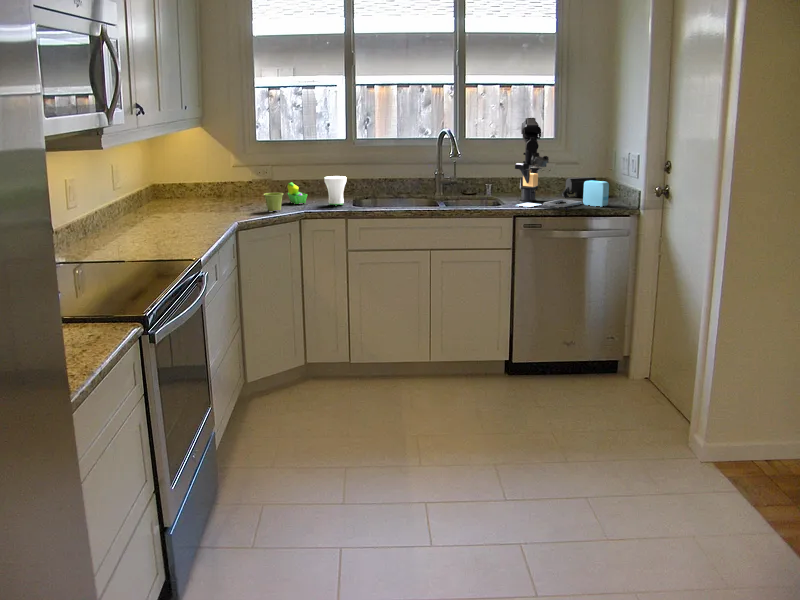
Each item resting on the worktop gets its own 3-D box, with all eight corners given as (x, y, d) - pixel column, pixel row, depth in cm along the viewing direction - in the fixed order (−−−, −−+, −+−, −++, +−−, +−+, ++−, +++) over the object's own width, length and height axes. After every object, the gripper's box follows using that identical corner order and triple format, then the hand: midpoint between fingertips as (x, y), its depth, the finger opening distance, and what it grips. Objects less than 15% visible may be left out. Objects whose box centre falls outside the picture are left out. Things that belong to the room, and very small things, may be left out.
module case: (543, 205, 385) (543, 202, 384) (561, 202, 396) (561, 199, 395) (563, 208, 377) (563, 205, 376) (581, 204, 387) (582, 201, 387)
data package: (608, 206, 380) (609, 182, 377) (602, 207, 377) (603, 182, 374) (588, 203, 389) (589, 179, 386) (582, 204, 386) (583, 180, 383)
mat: (515, 206, 385) (515, 204, 385) (527, 203, 391) (527, 202, 391) (530, 207, 378) (530, 206, 378) (542, 205, 385) (542, 204, 385)
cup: (351, 205, 393) (350, 177, 389) (331, 207, 388) (330, 179, 384) (341, 202, 402) (340, 175, 399) (321, 204, 397) (320, 177, 393)
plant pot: (273, 209, 383) (272, 192, 381) (288, 210, 379) (287, 193, 377) (260, 212, 376) (259, 194, 373) (275, 213, 371) (274, 195, 369)
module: (522, 185, 383) (523, 173, 381) (527, 184, 386) (528, 172, 384) (532, 186, 379) (533, 174, 377) (537, 185, 382) (538, 173, 380)
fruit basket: (308, 204, 399) (307, 182, 396) (292, 205, 395) (291, 183, 392) (301, 201, 409) (300, 180, 406) (285, 203, 405) (284, 181, 402)
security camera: (559, 196, 415) (560, 177, 413) (591, 195, 420) (592, 176, 417) (565, 198, 409) (566, 179, 406) (597, 196, 413) (598, 177, 411)
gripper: (533, 152, 366) (532, 185, 370) (556, 150, 379) (554, 182, 383) (514, 151, 374) (513, 184, 378) (537, 149, 386) (536, 180, 390)
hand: (530, 182), depth 382 cm, fingers closed on module, 4 cm apart
